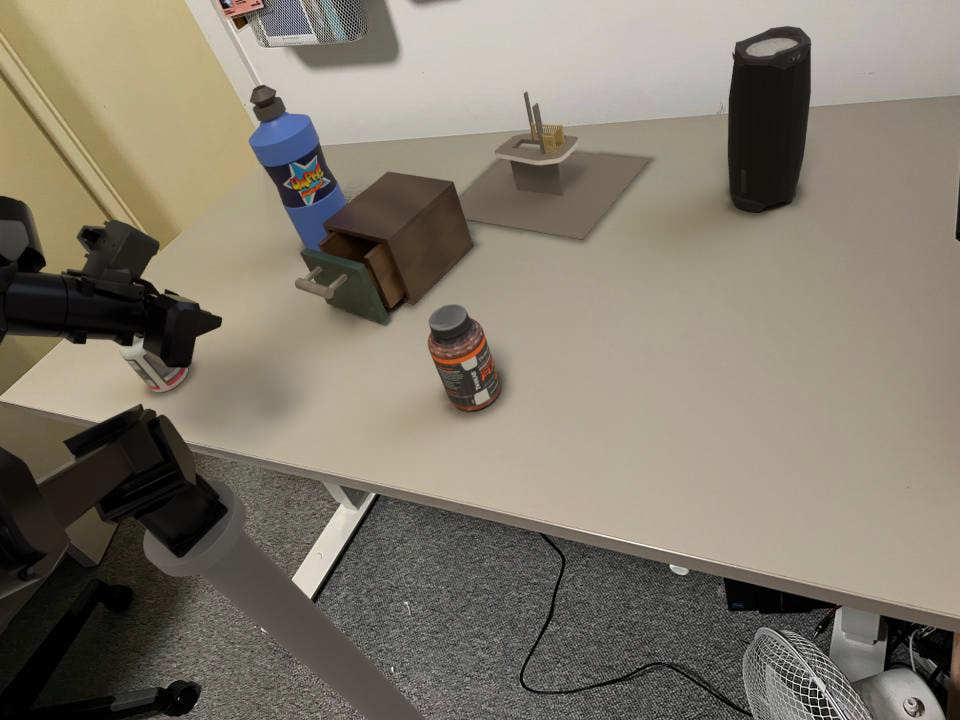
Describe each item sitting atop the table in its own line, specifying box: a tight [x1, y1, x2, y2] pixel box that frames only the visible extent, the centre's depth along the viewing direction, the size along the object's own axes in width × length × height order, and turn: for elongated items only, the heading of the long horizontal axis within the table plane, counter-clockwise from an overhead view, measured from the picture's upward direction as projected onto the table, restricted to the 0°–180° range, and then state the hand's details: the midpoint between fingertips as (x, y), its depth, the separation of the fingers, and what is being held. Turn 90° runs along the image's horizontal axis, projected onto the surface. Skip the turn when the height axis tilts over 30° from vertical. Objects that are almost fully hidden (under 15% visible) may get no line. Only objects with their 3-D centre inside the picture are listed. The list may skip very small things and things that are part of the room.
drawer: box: [294, 231, 406, 324], centre depth 84 cm, size 17×11×9 cm
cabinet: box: [322, 171, 474, 306], centre depth 87 cm, size 14×13×11 cm
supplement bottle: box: [427, 303, 501, 412], centre depth 66 cm, size 6×6×11 cm
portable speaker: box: [727, 25, 813, 213], centre depth 75 cm, size 9×9×20 cm
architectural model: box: [459, 91, 649, 240], centre depth 93 cm, size 21×25×14 cm
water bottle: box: [248, 84, 348, 252], centre depth 94 cm, size 9×9×25 cm
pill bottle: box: [118, 336, 189, 393], centre depth 83 cm, size 5×5×10 cm
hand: (215, 319), depth 69 cm, fingers closed
